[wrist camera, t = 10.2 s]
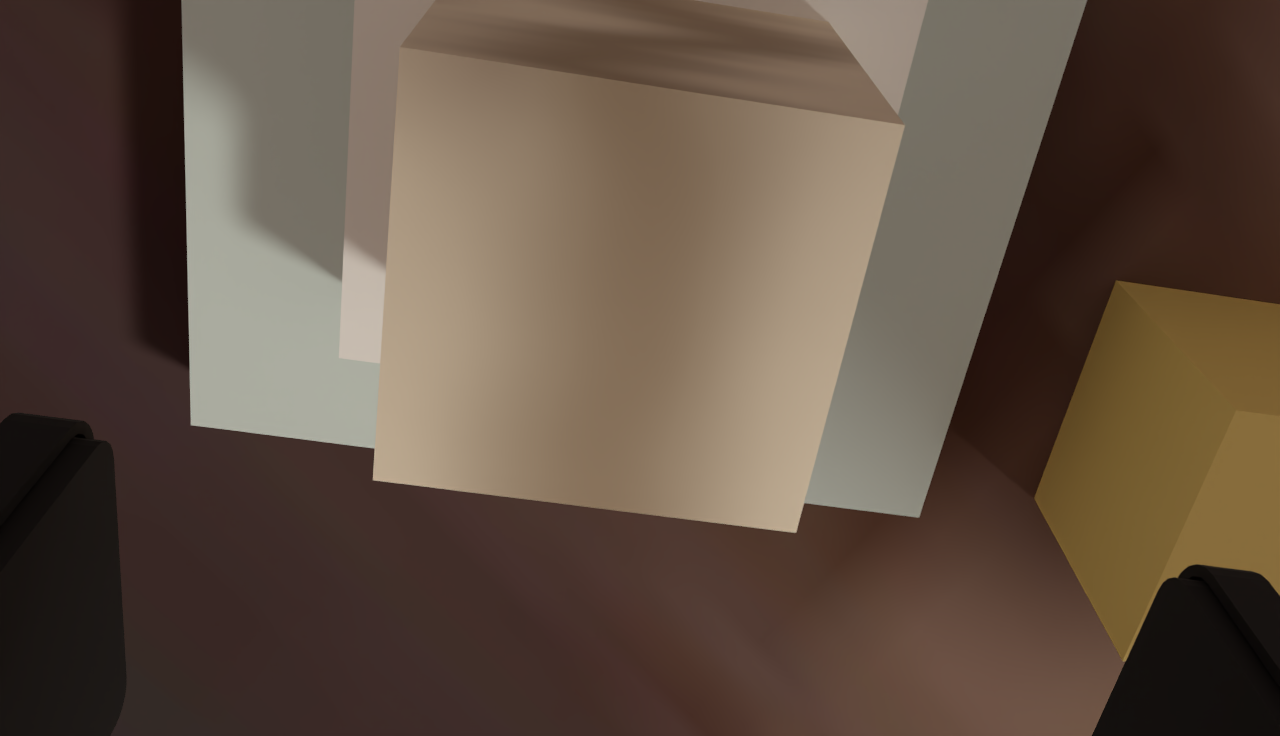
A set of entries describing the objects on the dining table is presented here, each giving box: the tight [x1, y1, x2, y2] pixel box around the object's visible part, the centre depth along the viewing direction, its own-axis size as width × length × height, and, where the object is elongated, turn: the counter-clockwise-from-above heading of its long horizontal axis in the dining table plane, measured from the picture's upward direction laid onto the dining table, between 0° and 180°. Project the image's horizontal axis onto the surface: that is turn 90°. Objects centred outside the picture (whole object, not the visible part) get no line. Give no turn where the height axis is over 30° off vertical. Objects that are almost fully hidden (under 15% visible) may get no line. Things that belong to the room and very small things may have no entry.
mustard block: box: [1034, 280, 1280, 661], centre depth 28 cm, size 6×6×6 cm
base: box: [181, 0, 1087, 518], centre depth 24 cm, size 18×18×5 cm
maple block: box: [373, 0, 905, 533], centre depth 19 cm, size 6×6×6 cm
